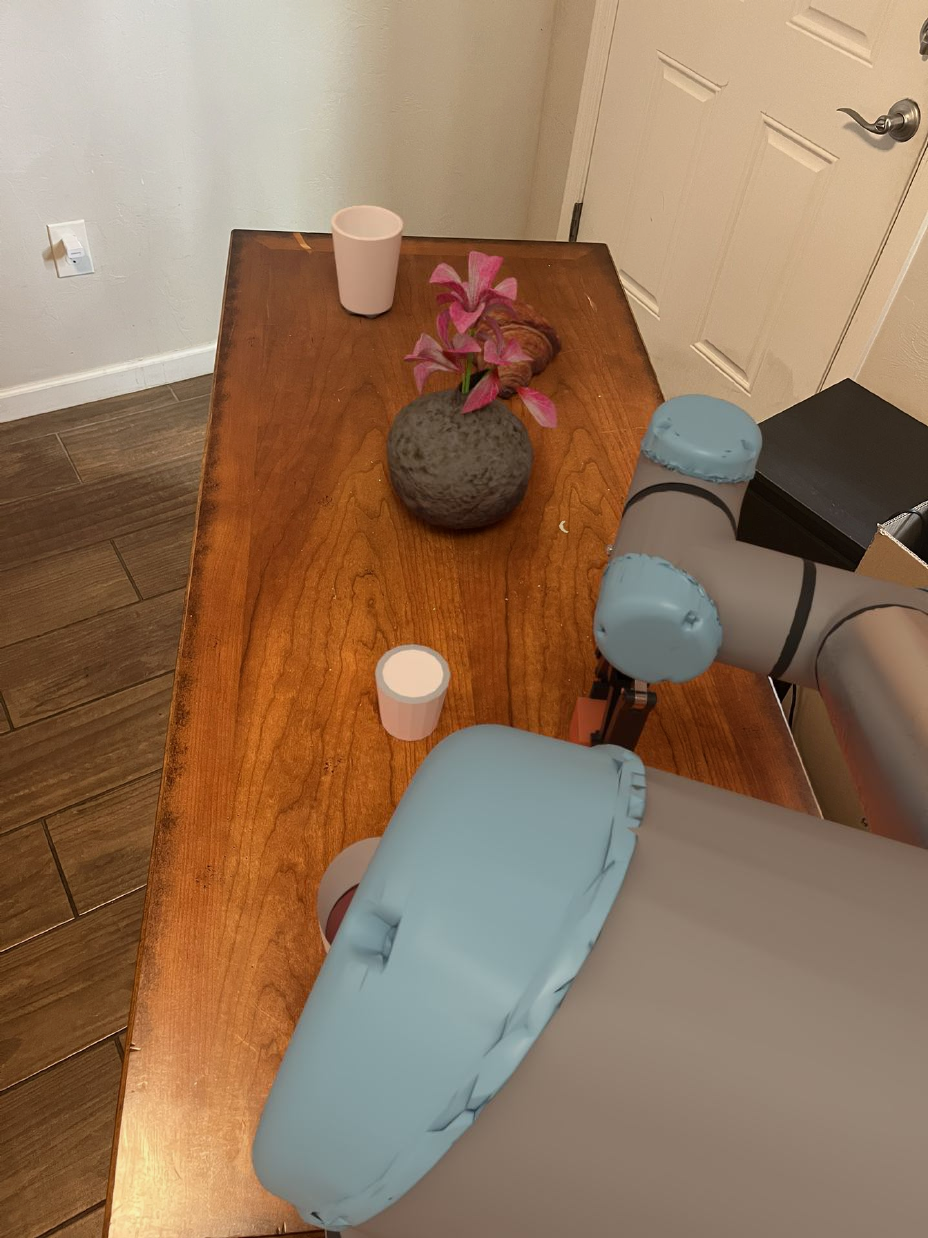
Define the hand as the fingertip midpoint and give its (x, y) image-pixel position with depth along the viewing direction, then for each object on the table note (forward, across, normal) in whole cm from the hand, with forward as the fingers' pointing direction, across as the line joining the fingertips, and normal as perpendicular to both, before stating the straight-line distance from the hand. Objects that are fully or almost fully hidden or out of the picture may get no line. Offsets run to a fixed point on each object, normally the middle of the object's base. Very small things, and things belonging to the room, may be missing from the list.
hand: (596, 749), depth 90 cm
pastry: (+1, -65, -10) cm, 66 cm away
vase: (+1, -33, -15) cm, 36 cm away
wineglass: (+1, +26, -18) cm, 31 cm away
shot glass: (+1, -2, -18) cm, 18 cm away
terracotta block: (0, 0, 0) cm, 0 cm away
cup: (+1, -74, -31) cm, 80 cm away
